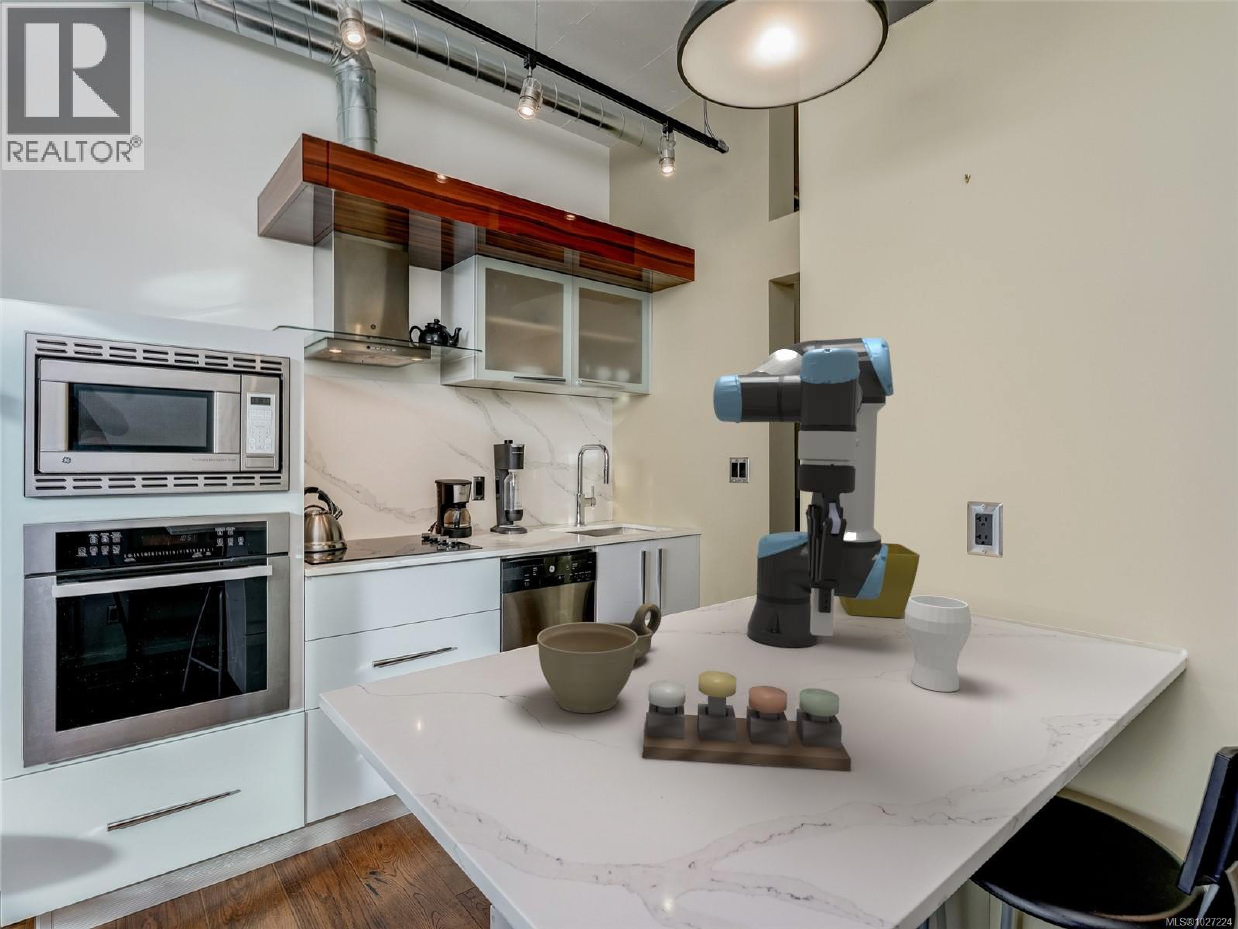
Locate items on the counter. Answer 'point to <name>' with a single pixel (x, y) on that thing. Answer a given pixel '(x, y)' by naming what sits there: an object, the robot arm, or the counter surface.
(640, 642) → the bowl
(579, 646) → the planter bowl
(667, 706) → the grey button
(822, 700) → the sage button
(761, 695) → the terracotta button
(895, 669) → the counter surface
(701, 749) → the panel
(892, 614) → the flower pot
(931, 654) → the cup
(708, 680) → the ochre button
